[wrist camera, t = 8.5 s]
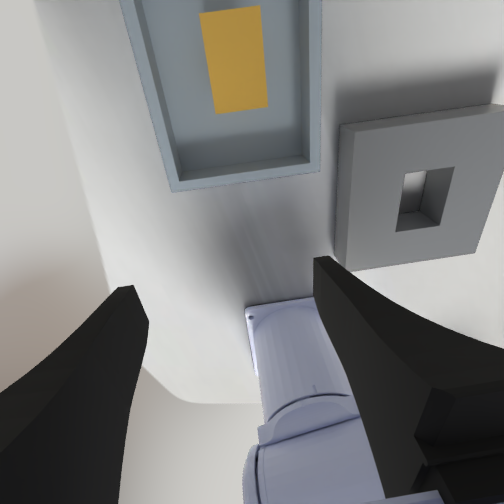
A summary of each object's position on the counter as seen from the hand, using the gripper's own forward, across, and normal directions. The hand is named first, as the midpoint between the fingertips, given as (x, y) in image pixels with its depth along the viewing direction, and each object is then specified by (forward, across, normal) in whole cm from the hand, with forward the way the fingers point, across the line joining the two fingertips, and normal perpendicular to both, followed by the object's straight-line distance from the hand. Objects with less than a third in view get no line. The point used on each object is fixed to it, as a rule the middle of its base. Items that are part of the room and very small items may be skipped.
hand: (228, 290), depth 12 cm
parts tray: (+10, -2, -8) cm, 13 cm away
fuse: (+10, -2, -8) cm, 13 cm away
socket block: (+10, -13, +2) cm, 17 cm away
